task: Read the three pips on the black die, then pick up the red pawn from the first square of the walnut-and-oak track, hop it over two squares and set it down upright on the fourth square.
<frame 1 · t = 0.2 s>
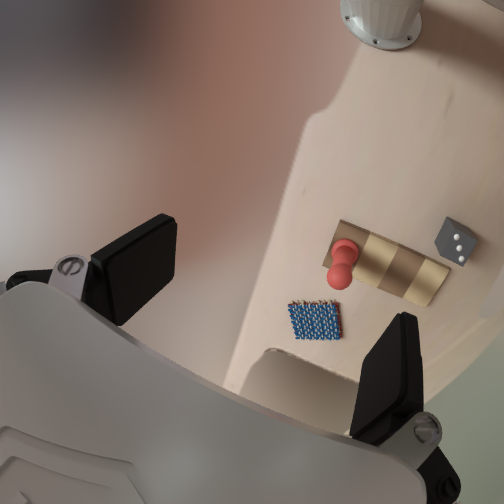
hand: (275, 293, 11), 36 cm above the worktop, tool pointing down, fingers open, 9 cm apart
die: (451, 234, 38), on the worktop
pawn: (345, 250, 46), point 1 cm above the worktop, touching board
board: (387, 264, 45), on the worktop
woven mat: (317, 317, 57), on the worktop
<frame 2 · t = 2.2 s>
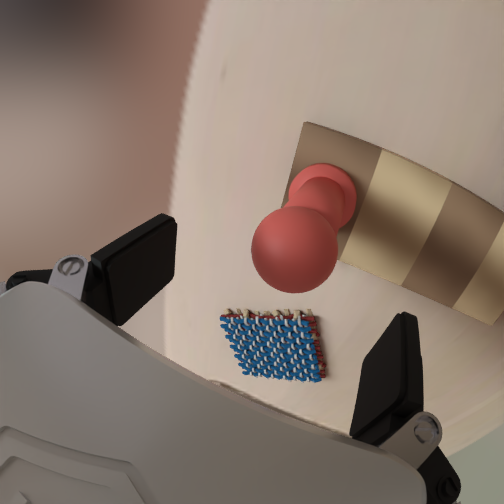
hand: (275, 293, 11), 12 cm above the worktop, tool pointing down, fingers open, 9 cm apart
pawn: (324, 194, 19), point 1 cm above the worktop, touching board
board: (424, 231, 18), on the worktop
woven mat: (278, 340, 30), on the worktop
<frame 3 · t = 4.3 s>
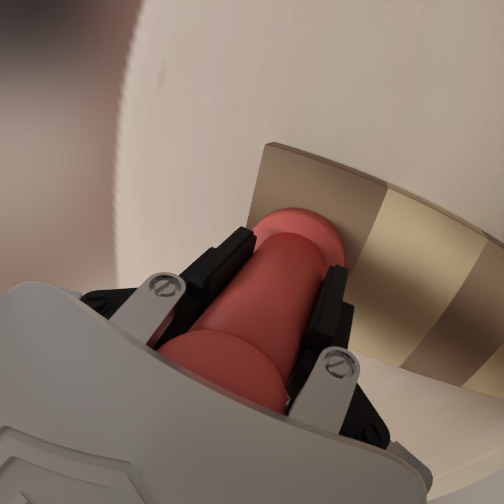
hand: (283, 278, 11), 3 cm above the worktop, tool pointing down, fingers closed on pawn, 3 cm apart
pawn: (297, 253, 13), point 1 cm above the worktop, touching board, gripper
board: (438, 300, 12), on the worktop
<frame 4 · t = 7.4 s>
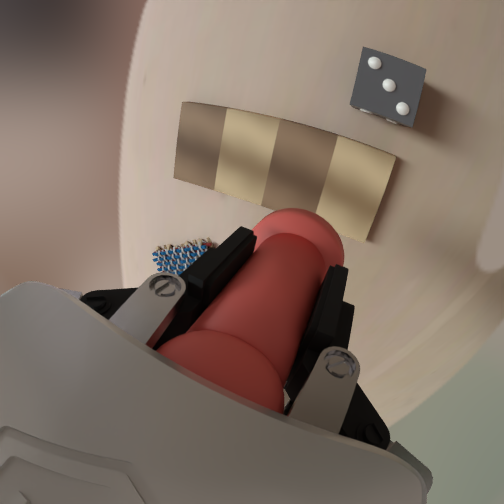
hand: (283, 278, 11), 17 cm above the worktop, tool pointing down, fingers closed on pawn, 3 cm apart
die: (384, 91, 20), on the worktop
pawn: (296, 254, 13), point 15 cm above the worktop, touching gripper
board: (274, 161, 27), on the worktop
woven mat: (197, 272, 39), on the worktop
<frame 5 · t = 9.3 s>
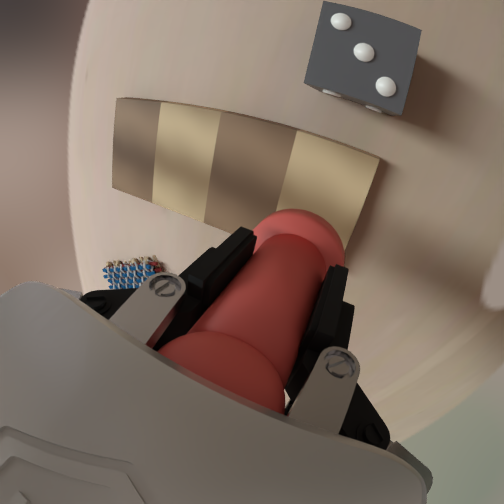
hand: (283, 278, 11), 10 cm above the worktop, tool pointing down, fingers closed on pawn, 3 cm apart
die: (364, 68, 14), on the worktop
pawn: (296, 254, 13), point 8 cm above the worktop, touching gripper
board: (218, 167, 21), on the worktop
woven mat: (149, 292, 33), on the worktop
when the fingers open (4 cm above the worktop, at t = 11.0 s): pawn stays where it is, resting on board.
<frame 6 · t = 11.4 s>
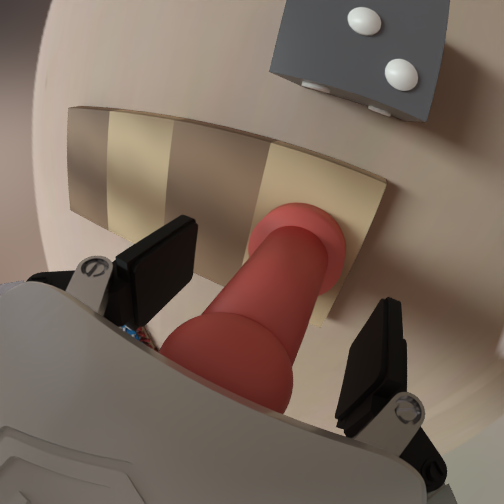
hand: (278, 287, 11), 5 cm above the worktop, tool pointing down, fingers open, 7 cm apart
die: (365, 55, 10), on the worktop
pawn: (300, 246, 14), point 1 cm above the worktop, touching board
board: (177, 189, 17), on the worktop
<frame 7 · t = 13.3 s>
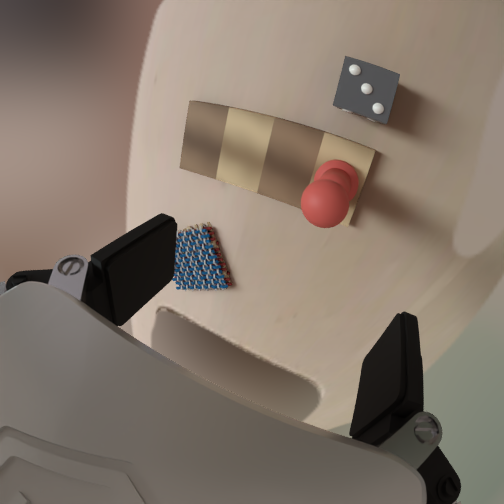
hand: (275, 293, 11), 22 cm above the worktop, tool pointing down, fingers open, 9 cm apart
die: (366, 94, 24), on the worktop
pawn: (337, 180, 28), point 1 cm above the worktop, touching board
board: (269, 154, 31), on the worktop
woven mat: (197, 256, 43), on the worktop
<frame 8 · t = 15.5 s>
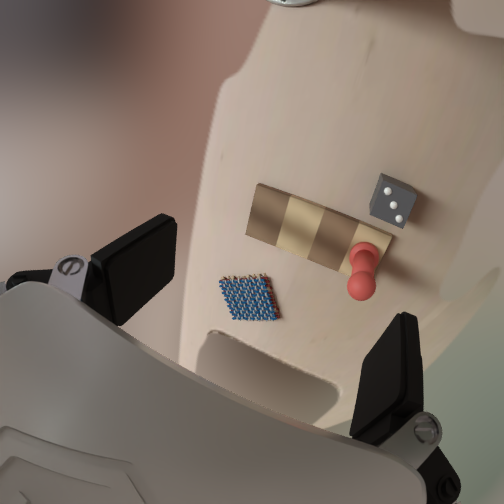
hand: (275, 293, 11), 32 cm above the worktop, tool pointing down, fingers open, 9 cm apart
die: (390, 194, 36), on the worktop
pawn: (364, 255, 41), point 1 cm above the worktop, touching board
board: (316, 232, 43), on the worktop
woven mat: (252, 295, 55), on the worktop
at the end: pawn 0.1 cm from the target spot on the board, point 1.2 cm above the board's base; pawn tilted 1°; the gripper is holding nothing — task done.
